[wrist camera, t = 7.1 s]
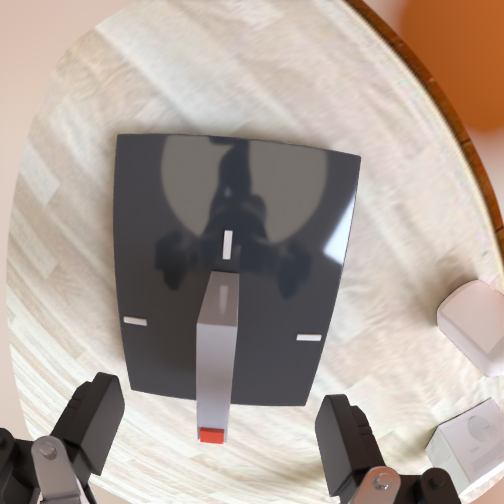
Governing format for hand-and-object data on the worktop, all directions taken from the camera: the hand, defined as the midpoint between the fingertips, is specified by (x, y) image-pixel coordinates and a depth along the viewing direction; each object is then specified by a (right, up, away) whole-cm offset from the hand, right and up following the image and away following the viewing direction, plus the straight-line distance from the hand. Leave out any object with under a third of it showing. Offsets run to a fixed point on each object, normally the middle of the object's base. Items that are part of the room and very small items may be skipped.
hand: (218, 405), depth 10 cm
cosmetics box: (+29, -18, +16) cm, 38 cm away
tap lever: (0, +2, +6) cm, 6 cm away
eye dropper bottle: (+18, +2, +9) cm, 21 cm away
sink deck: (0, +4, +8) cm, 9 cm away
